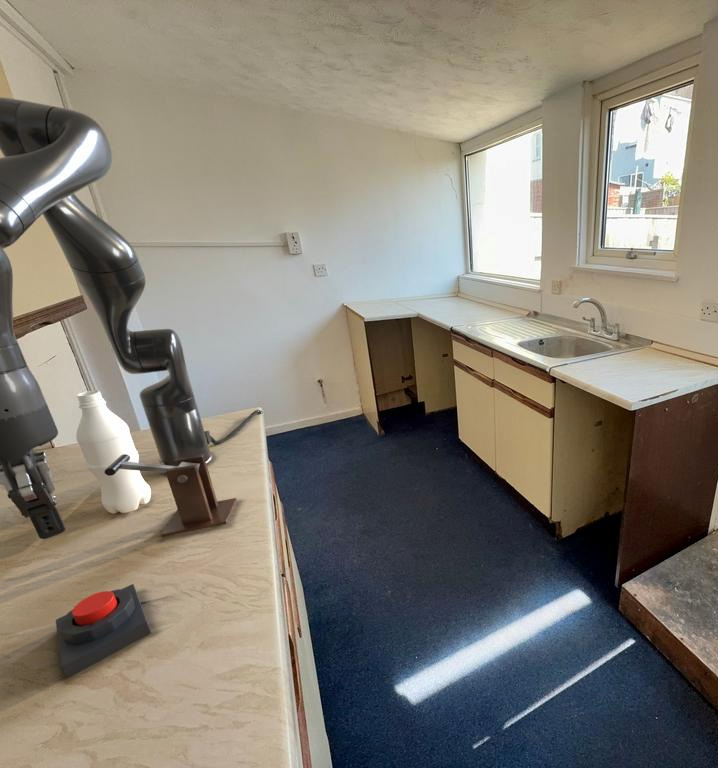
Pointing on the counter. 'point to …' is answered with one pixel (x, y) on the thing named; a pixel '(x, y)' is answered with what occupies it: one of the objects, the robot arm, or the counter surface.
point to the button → (94, 608)
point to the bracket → (195, 498)
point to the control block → (101, 633)
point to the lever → (140, 466)
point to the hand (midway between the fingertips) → (53, 533)
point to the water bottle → (110, 454)
